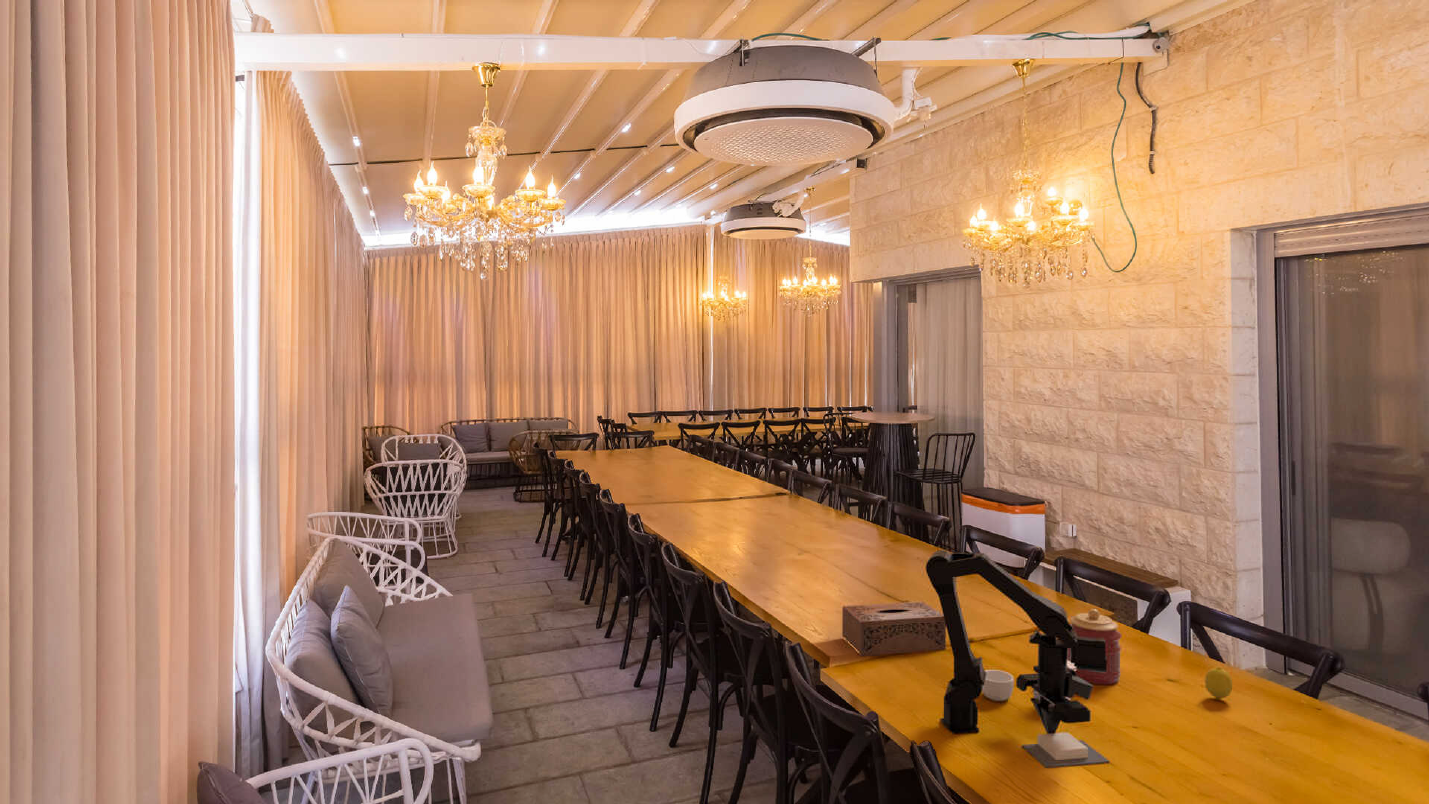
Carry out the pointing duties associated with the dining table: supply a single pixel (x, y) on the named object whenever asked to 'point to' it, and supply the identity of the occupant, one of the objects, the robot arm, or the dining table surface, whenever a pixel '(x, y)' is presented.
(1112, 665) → the canister
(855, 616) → the tissue box cover
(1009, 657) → the dining table surface
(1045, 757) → the mat
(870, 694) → the dining table surface
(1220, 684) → the lemon
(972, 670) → the robot arm
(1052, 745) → the block
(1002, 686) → the teacup
